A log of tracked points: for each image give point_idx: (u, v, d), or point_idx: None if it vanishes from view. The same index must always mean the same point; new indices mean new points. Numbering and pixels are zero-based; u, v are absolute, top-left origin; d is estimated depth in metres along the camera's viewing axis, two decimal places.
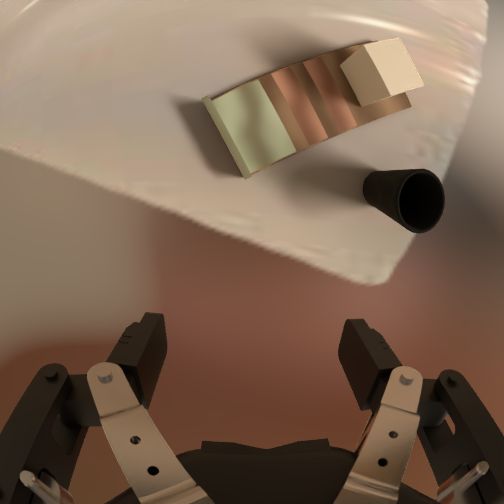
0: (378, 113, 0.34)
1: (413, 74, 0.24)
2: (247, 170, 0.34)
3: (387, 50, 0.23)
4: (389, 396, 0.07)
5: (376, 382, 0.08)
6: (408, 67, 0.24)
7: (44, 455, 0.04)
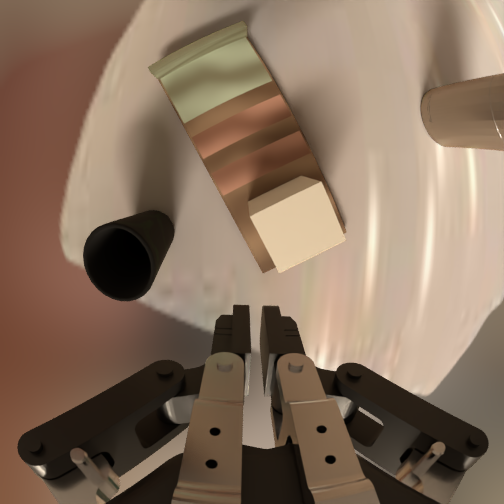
0: (243, 224, 0.34)
1: (291, 256, 0.25)
2: (157, 68, 0.24)
3: (320, 218, 0.24)
4: (289, 390, 0.07)
5: (271, 367, 0.09)
6: (301, 249, 0.25)
7: (113, 442, 0.05)
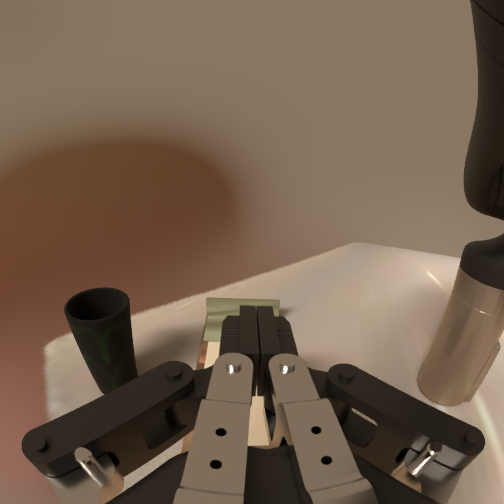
0: None
1: None
2: (211, 300, 0.45)
3: None
4: (282, 391, 0.07)
5: (263, 367, 0.09)
6: None
7: (119, 442, 0.05)
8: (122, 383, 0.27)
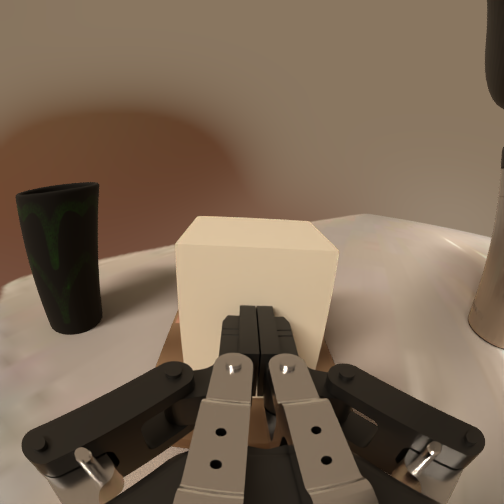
0: (170, 356, 0.18)
1: (218, 238, 0.12)
2: None
3: (294, 231, 0.15)
4: (282, 391, 0.07)
5: (263, 367, 0.09)
6: (241, 238, 0.13)
7: (119, 442, 0.05)
8: (75, 308, 0.19)
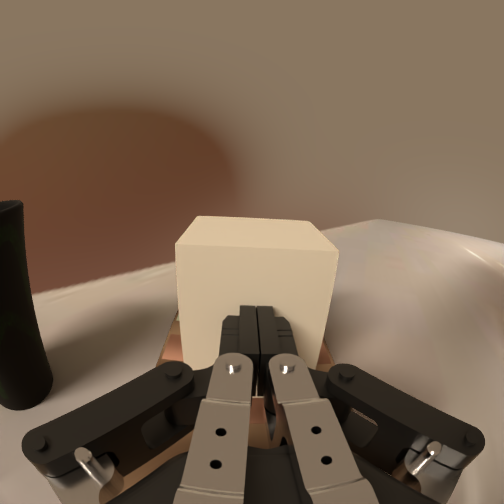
0: (134, 477, 0.08)
1: (218, 238, 0.12)
2: None
3: (294, 231, 0.14)
4: (282, 391, 0.07)
5: (263, 367, 0.09)
6: (241, 238, 0.13)
7: (119, 442, 0.05)
8: (10, 384, 0.10)
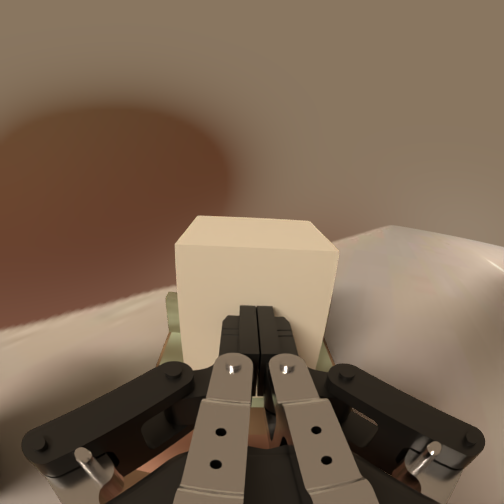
0: None
1: (218, 239, 0.12)
2: (177, 298, 0.19)
3: (294, 231, 0.14)
4: (282, 391, 0.07)
5: (263, 367, 0.09)
6: (241, 238, 0.13)
7: (119, 442, 0.05)
8: None
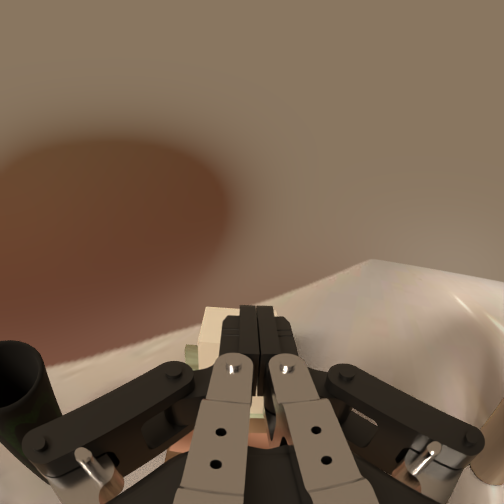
0: None
1: (219, 336, 0.23)
2: (192, 349, 0.30)
3: None
4: (282, 391, 0.07)
5: (263, 367, 0.09)
6: None
7: (119, 442, 0.05)
8: None
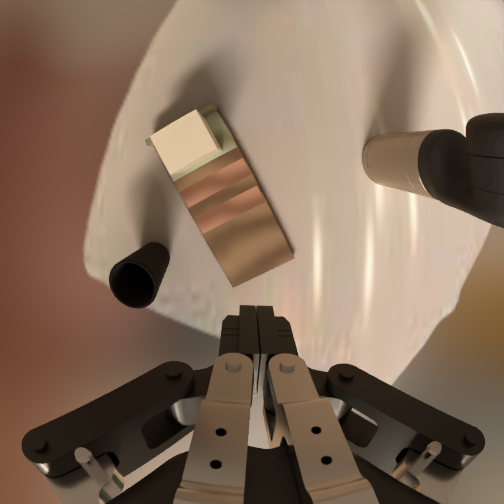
0: (218, 253, 0.47)
1: (177, 161, 0.34)
2: None
3: (196, 133, 0.33)
4: (282, 391, 0.07)
5: (263, 367, 0.09)
6: (183, 156, 0.33)
7: (119, 442, 0.05)
8: (166, 267, 0.46)
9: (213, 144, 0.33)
